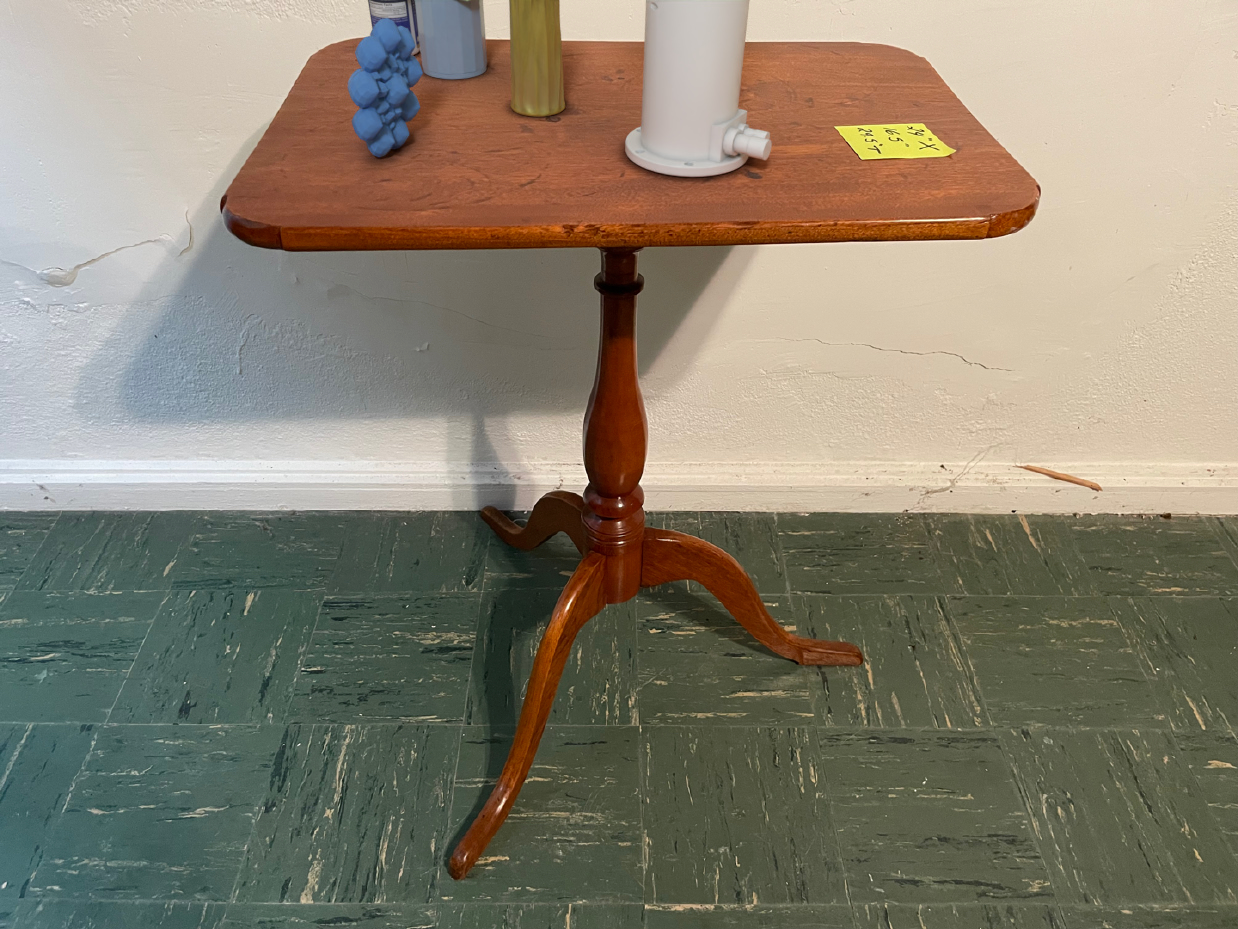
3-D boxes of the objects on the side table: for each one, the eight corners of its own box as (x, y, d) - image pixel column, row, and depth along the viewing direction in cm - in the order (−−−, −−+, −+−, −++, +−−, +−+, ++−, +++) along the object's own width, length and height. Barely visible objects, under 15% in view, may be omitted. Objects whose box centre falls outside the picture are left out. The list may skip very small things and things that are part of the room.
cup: (499, 66, 114) (495, -14, 108) (459, 83, 109) (452, 0, 103) (450, 54, 117) (443, -24, 111) (409, 71, 112) (399, -11, 106)
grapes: (386, 122, 99) (368, 1, 91) (443, 131, 97) (430, 8, 90) (326, 163, 90) (301, 33, 83) (388, 173, 89) (368, 42, 81)
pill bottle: (393, 42, 120) (382, -44, 114) (430, 49, 118) (421, -38, 112) (366, 54, 116) (353, -34, 110) (403, 61, 114) (392, -28, 108)
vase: (529, 121, 100) (523, -24, 91) (500, 104, 104) (492, -37, 95) (575, 110, 103) (575, -32, 94) (546, 94, 107) (542, -44, 97)
